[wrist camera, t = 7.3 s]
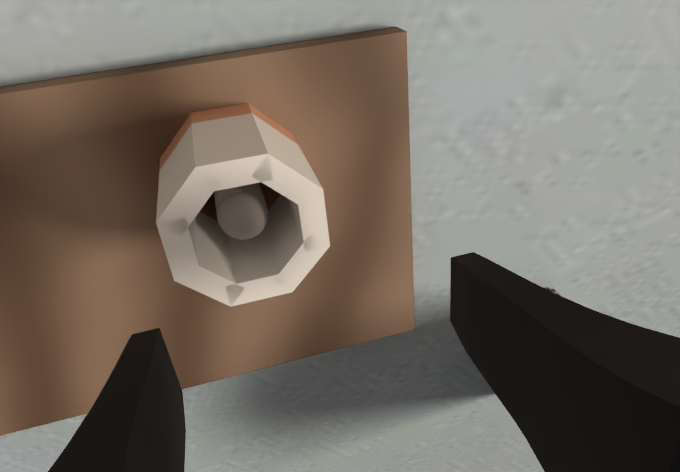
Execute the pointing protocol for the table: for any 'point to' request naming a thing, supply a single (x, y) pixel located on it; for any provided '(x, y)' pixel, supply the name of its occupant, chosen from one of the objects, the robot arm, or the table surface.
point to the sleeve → (228, 172)
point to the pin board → (231, 204)
